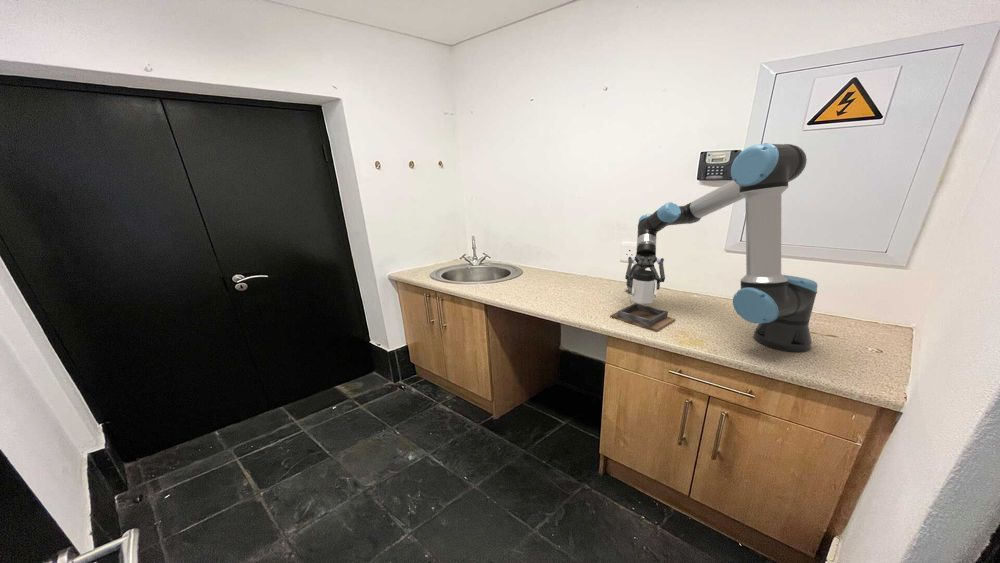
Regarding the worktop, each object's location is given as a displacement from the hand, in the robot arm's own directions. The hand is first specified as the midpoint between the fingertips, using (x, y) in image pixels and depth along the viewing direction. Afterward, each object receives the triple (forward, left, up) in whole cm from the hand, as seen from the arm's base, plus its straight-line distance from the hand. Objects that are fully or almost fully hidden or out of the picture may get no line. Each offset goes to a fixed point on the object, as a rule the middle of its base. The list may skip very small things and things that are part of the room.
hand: (643, 295), depth 131 cm
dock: (+1, -3, -11) cm, 12 cm away
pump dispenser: (+21, -34, -12) cm, 42 cm away
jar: (+2, -3, -4) cm, 5 cm away
